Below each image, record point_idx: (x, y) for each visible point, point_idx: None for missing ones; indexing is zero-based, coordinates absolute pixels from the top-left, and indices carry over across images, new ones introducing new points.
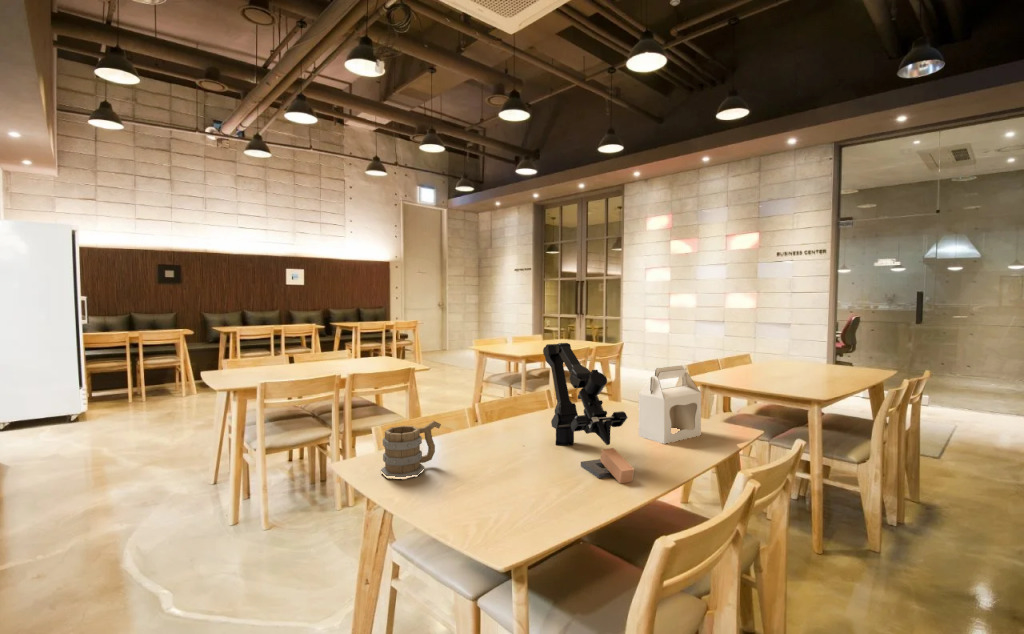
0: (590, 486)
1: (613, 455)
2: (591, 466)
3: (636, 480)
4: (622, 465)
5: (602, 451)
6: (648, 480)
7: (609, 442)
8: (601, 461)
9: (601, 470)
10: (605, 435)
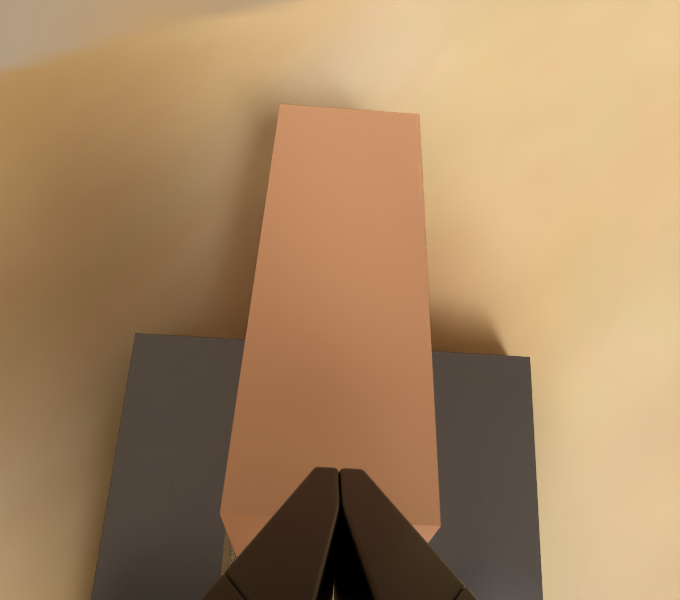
0: (658, 257)
1: (347, 342)
2: (502, 596)
3: (229, 208)
4: (358, 170)
5: (435, 507)
6: (139, 170)
7: (324, 471)
8: None
9: (458, 431)
10: (397, 543)
